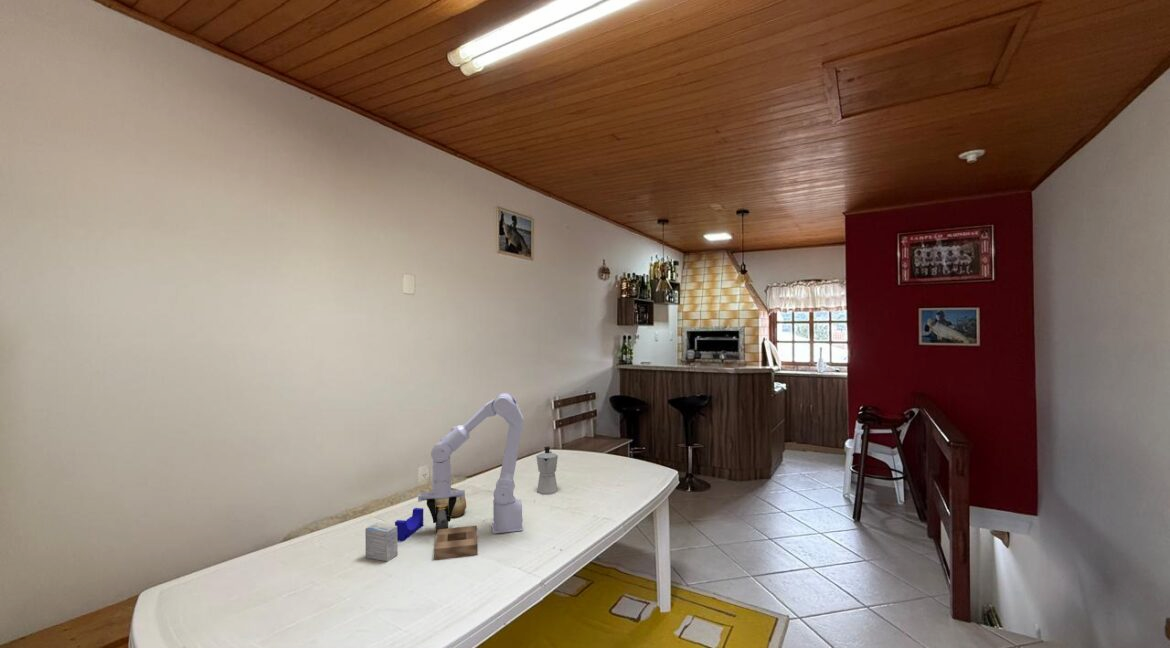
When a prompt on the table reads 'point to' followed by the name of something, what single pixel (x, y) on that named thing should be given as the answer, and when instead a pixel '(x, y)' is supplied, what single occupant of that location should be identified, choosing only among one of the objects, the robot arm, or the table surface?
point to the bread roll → (458, 507)
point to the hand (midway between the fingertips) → (441, 521)
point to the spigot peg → (441, 517)
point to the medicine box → (381, 541)
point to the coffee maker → (547, 472)
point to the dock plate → (456, 542)
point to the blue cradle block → (409, 525)
